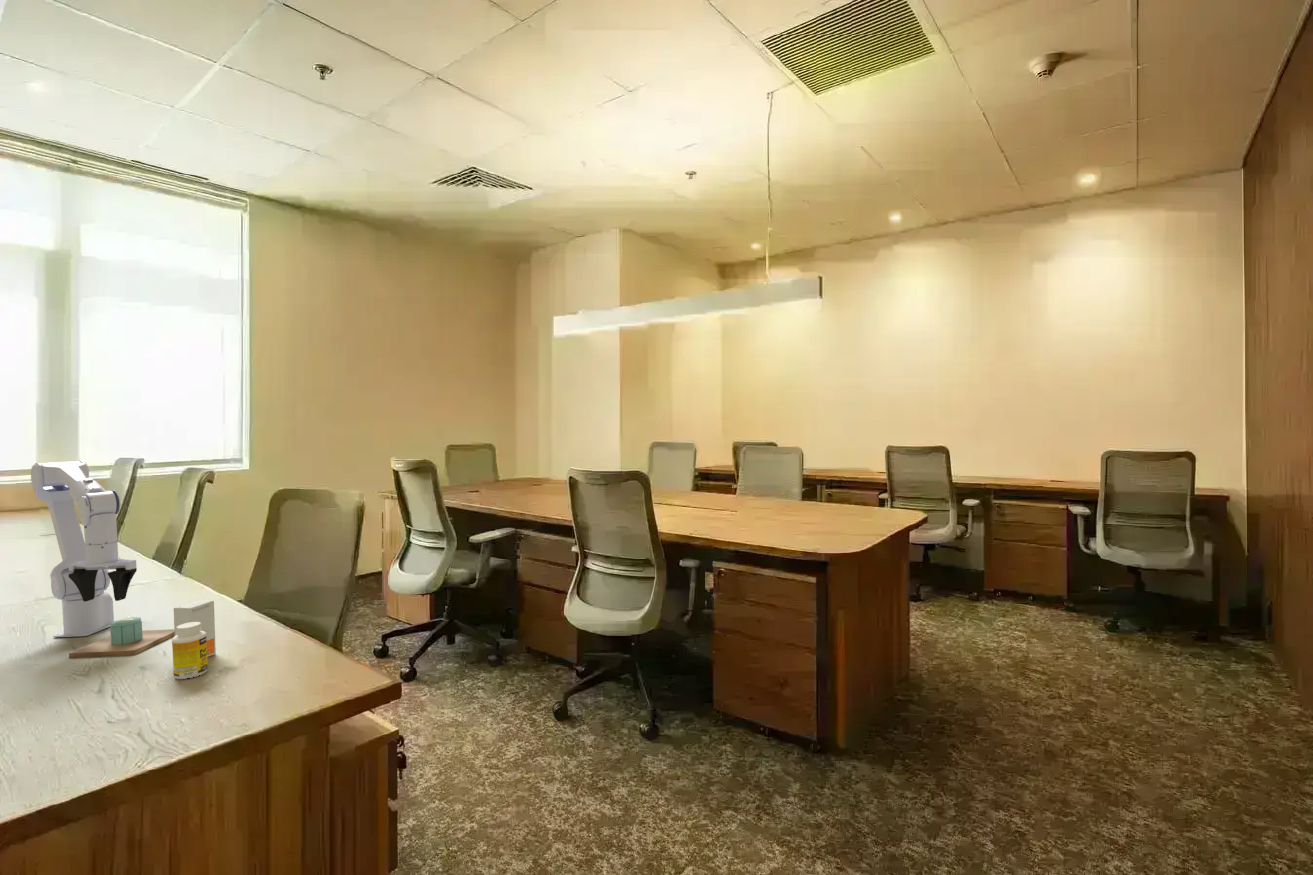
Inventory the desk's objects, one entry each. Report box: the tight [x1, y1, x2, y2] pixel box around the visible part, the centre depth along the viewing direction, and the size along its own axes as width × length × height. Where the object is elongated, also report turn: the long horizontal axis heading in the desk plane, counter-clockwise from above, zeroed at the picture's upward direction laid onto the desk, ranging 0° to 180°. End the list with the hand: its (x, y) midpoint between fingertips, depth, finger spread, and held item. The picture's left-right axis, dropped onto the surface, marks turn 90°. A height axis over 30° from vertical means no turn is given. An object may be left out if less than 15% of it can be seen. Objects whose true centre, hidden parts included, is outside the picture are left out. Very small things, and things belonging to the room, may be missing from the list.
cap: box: [109, 616, 143, 645], centre depth 144 cm, size 5×5×5 cm
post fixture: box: [68, 628, 175, 659], centre depth 144 cm, size 14×14×4 cm
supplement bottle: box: [171, 622, 209, 680], centre depth 126 cm, size 6×6×10 cm
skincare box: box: [173, 599, 217, 658], centre depth 134 cm, size 6×4×12 cm
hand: (104, 599), depth 147 cm, fingers open, 7 cm apart
